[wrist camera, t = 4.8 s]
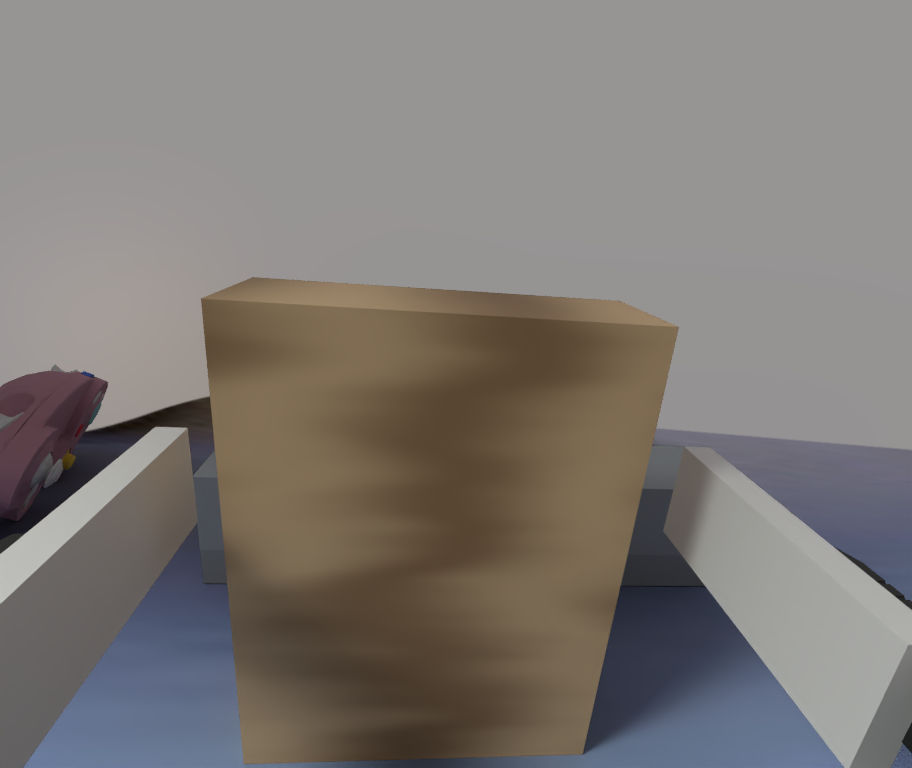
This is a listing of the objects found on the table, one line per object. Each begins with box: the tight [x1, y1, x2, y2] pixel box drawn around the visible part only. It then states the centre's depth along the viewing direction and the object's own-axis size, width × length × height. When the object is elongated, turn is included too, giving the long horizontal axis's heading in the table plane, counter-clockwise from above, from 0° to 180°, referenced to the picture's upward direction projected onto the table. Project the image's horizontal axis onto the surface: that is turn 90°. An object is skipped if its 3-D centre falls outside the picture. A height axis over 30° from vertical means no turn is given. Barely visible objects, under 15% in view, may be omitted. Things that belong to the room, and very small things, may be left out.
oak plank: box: [201, 277, 679, 764], centre depth 13 cm, size 9×3×12 cm, turn 94°
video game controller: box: [0, 365, 108, 521], centre depth 22 cm, size 10×5×7 cm, turn 17°
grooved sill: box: [193, 446, 705, 586], centre depth 24 cm, size 20×12×4 cm, turn 94°
